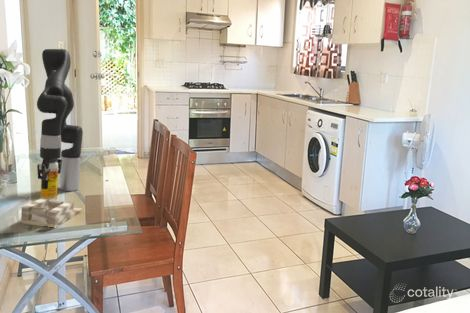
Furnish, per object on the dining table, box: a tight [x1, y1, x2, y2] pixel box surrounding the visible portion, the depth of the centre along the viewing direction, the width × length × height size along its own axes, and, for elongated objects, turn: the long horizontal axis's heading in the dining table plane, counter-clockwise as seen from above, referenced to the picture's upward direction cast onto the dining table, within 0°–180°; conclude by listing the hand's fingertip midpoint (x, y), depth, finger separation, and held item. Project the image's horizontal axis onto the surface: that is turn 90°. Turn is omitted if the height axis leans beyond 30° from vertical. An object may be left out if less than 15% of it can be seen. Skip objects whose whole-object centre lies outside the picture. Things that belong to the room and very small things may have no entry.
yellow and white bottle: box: [40, 161, 59, 201], centre depth 163 cm, size 6×6×15 cm
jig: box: [20, 197, 83, 228], centre depth 169 cm, size 22×14×6 cm, turn 174°
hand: (49, 186), depth 163 cm, fingers closed on yellow and white bottle, 6 cm apart
